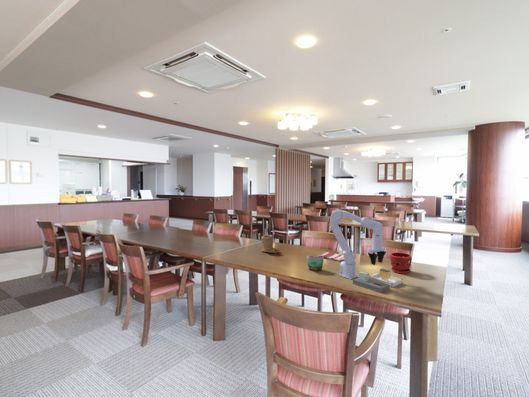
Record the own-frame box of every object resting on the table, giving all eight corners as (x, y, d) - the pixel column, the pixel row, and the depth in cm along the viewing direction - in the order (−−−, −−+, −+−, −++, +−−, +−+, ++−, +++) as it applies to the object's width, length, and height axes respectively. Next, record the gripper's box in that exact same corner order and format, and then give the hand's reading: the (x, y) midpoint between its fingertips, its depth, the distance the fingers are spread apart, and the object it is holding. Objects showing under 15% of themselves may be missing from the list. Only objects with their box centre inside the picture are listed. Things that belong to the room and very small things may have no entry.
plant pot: (392, 267, 201) (393, 251, 201) (413, 271, 193) (413, 254, 192) (387, 272, 191) (387, 254, 191) (408, 276, 183) (409, 258, 182)
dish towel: (344, 263, 214) (344, 259, 214) (317, 257, 229) (317, 254, 229) (353, 258, 227) (353, 255, 227) (327, 253, 242) (327, 250, 242)
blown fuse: (379, 280, 174) (379, 269, 173) (382, 279, 175) (382, 268, 175) (387, 282, 170) (387, 271, 169) (390, 281, 171) (390, 270, 171)
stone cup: (258, 252, 245) (258, 235, 244) (266, 249, 254) (266, 233, 254) (272, 255, 236) (272, 237, 235) (280, 252, 246) (280, 235, 245)
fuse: (358, 283, 169) (358, 272, 169) (361, 282, 171) (361, 271, 171) (366, 285, 165) (366, 274, 165) (368, 284, 167) (369, 273, 167)
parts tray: (367, 280, 175) (368, 276, 175) (378, 276, 182) (378, 272, 182) (392, 287, 163) (392, 283, 163) (402, 283, 170) (402, 279, 170)
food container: (306, 271, 192) (306, 257, 192) (306, 268, 198) (306, 254, 198) (324, 272, 191) (324, 257, 190) (324, 269, 197) (324, 255, 196)
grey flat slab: (352, 283, 169) (352, 279, 169) (361, 280, 175) (361, 276, 174) (380, 293, 155) (380, 288, 155) (389, 289, 160) (389, 284, 160)
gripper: (376, 244, 167) (376, 267, 168) (389, 241, 176) (389, 262, 177) (366, 242, 172) (365, 264, 173) (379, 239, 181) (378, 260, 182)
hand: (376, 263), depth 175 cm, fingers open, 7 cm apart
